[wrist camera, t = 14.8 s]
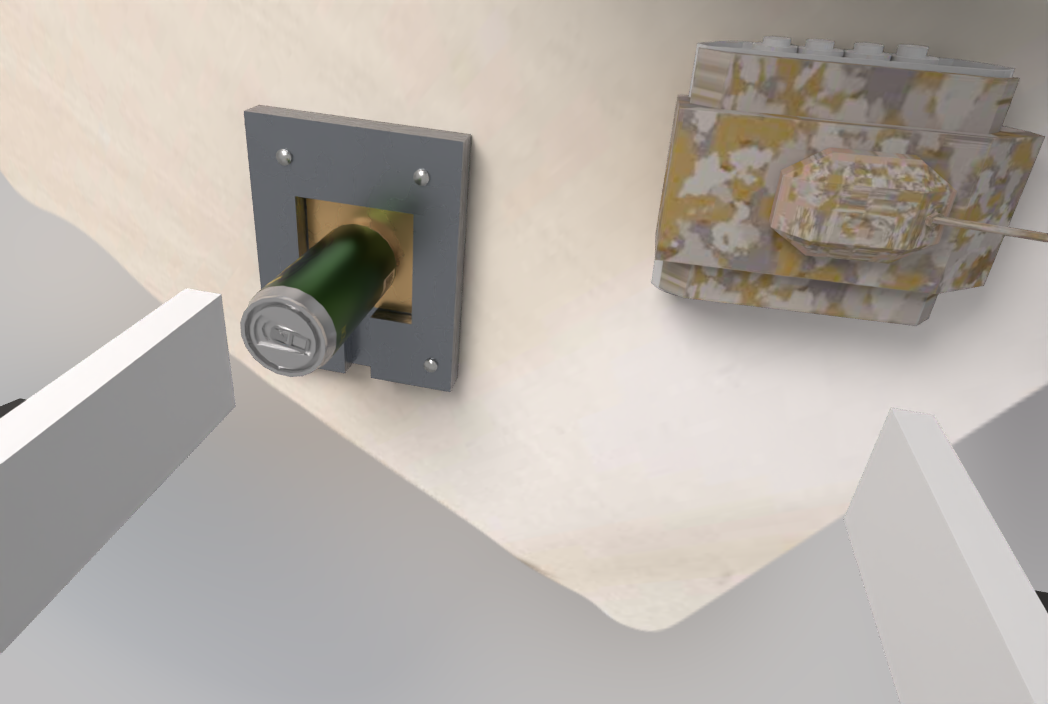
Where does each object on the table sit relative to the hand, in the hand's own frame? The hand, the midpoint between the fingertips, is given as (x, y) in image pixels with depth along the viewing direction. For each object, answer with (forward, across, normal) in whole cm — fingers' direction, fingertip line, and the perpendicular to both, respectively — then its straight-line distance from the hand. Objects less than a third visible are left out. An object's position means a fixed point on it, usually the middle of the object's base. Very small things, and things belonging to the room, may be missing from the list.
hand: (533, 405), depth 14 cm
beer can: (+32, -16, -12) cm, 38 cm away
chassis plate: (+33, -16, -12) cm, 38 cm away
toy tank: (+33, +13, -3) cm, 36 cm away
